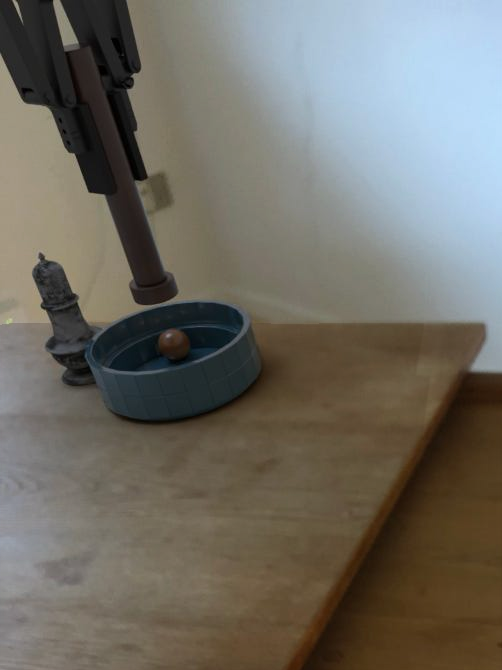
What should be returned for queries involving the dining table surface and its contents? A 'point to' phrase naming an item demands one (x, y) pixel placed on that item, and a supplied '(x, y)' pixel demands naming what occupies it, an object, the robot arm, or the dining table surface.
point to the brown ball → (174, 344)
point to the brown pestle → (121, 184)
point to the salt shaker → (64, 322)
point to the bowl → (174, 376)
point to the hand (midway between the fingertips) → (118, 184)
